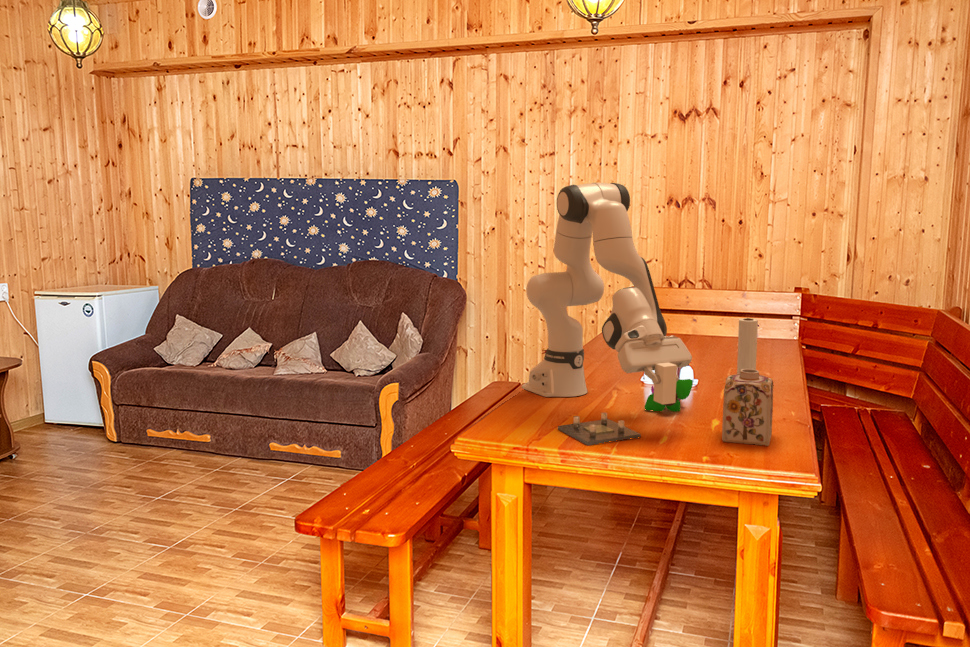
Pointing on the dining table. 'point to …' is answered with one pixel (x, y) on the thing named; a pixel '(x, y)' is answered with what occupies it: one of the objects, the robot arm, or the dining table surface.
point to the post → (665, 383)
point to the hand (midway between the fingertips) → (666, 382)
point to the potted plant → (681, 393)
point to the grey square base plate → (598, 430)
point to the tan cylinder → (747, 344)
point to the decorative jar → (748, 408)
